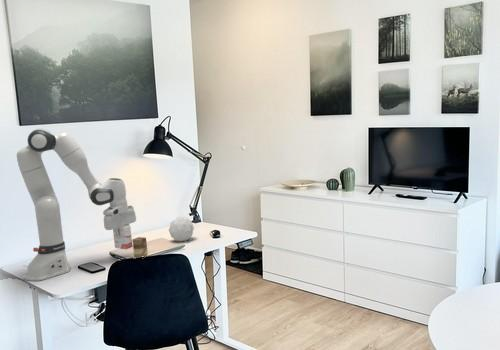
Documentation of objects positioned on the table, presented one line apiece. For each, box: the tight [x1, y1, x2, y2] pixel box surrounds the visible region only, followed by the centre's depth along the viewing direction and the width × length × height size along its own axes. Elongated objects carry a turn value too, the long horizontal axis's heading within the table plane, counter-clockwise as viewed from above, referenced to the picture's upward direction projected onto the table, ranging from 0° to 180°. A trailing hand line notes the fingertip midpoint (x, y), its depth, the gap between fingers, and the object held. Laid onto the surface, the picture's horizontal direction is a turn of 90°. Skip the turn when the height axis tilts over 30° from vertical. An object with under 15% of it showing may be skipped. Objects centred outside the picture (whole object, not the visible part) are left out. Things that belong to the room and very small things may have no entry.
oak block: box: [132, 246, 149, 258], centre depth 252 cm, size 5×5×5 cm
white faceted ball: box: [168, 216, 195, 242], centre depth 283 cm, size 14×15×15 cm
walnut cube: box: [132, 236, 148, 249], centre depth 252 cm, size 5×5×5 cm
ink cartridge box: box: [112, 222, 133, 250], centre depth 251 cm, size 9×5×15 cm, turn 61°
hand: (122, 234), depth 251 cm, fingers closed on ink cartridge box, 5 cm apart
